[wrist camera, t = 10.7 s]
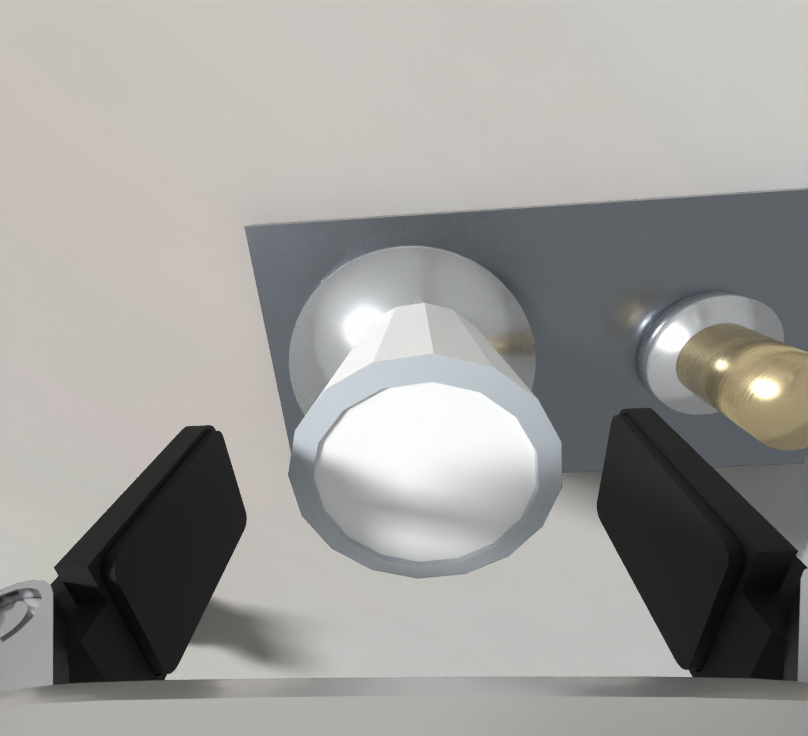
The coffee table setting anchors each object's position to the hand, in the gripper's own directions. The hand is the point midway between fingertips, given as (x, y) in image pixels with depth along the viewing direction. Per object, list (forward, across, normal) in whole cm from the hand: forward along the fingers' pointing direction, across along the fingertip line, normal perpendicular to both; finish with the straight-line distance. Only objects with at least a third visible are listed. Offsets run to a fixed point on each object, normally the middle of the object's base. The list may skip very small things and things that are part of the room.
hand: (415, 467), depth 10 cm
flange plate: (+9, -6, +1) cm, 11 cm away
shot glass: (+7, 0, +1) cm, 7 cm away
